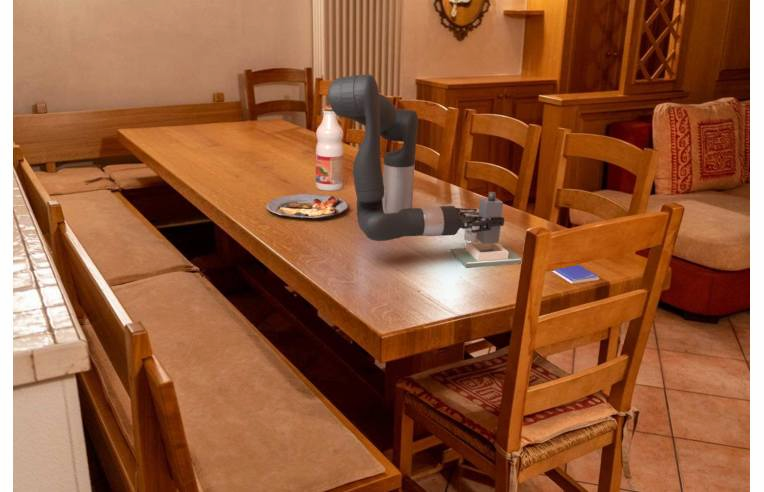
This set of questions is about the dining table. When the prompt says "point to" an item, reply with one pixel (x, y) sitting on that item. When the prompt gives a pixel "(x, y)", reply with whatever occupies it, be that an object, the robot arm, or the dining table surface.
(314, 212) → the food plate
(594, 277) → the blue book
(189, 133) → the dining table surface
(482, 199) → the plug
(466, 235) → the usb wall charger
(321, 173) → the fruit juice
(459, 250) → the board
